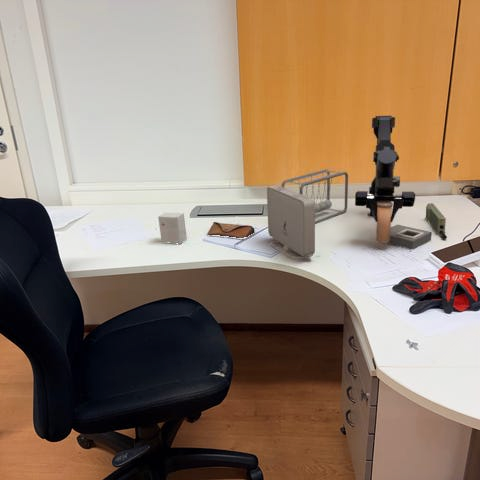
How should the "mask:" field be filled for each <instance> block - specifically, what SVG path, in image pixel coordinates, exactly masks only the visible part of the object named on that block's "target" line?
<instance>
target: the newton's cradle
mask: <svg viewBox="0 0 480 480" xmlns="http://www.w3.org/2000/svg"><path fill="white" fill-rule="evenodd" d="M324 174H326V175H324ZM323 175H324V176H323ZM343 175H344V178H345V180H344V207H343V210H338V209H335V208H332V205H333V202H332V201H331V200H330V197H331V196H330V193H331V185H332V183H331V182H332V180H333V178H336V177H341V176H343ZM318 176H321V177H318ZM313 177H316V178H313ZM309 178H310V179H309ZM303 179H304V180H303ZM308 179H309V180H308ZM296 181H298V182H296ZM300 181H302V182H300ZM321 182H324V183H323V185H324V189H323V191H324V192H323V194H322V197H324V194H326V196H325V198H326V200H324V198H322V199H321V197H318V196H319V195H317V196H316V199H318V198H319V199H320V202H318V201H316V199H315V198H313V196H315V194H314V192H315V191H314V190H312V191H311V194H312V196H311V197H310V198H312V199H313V200H314V202H315V214H317V213H320V212H323V211H325V209H326V210H331V211H335V213H332V214H329V215H327V216H325V217H322V218H319V219H315V225H316V224H319V223H321V222H324V221H327V220H330V219H332V218H334V217H338V216H339V215H342V214H345V213H346V212H347V210H348V201H349V200H348V193H349V174H348V172H347V171H342V172H341V171H336V170H335V171H334V170H329V169H323V170H318V171H314V172H311V173H306V174H303V175H299V176H295V177H293V178H287V179H285V180H283V181H282V183H281V185H280V186H281V187H284V188H285V185H286V184H288V183H290V184H297V185H298V186H299V187H298V188H299V189H298V190H299V194H301V195H304V193H303V189H304V187H305V189H306V192H305V193H306V197H309V196H308V186H309V185H311V186H312V187H311V188H312V189H314V188H315V187H314V186H315V184H316V183H317V184H318V187H320V186H321V184H320V183H321ZM326 183H327V184H326ZM326 187H327V188H326ZM317 193H318V194H321V192H320V189H318V190H317ZM317 202H318V203H317ZM336 211H337V212H336Z"/></svg>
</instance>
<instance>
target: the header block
mask: <svg viewBox="0 0 480 480" xmlns="http://www.w3.org/2000/svg"><path fill="white" fill-rule="evenodd" d="M432 235H433V233H432V231H428V230H425V229H419V228H415V227H411V226H405V225H401V224H395V225H393V226H391V228H390V241H389V242H388V243H387V244H390V245H393V246H397V247H400V246H401V247H400V248H404V247H405V249H408V250H412V249H413V250H414V249H416V248H419V247H420V246H423V245H425V244H427V243H429V242H430V241H432ZM418 246H419V247H418Z"/></svg>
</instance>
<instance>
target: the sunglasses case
mask: <svg viewBox="0 0 480 480" xmlns="http://www.w3.org/2000/svg"><path fill="white" fill-rule="evenodd" d="M255 232H256V231H255V228H254V227H253V226H252V225H248V224H247V225H246V224H244V225H240V224H235V223H223V222H222V223H221V222H218V221H214V222H213V223H212V225H211V226H210V228H209V229H208V231H207V234H206V235H220V236H229V237H236V238H244V237H248V236H249V235H251V234H253V233H254V234H255ZM254 234H253V235H254ZM251 236H252V235H251Z"/></svg>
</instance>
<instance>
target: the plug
mask: <svg viewBox="0 0 480 480" xmlns="http://www.w3.org/2000/svg"><path fill="white" fill-rule="evenodd" d="M393 203H394V202H390V201H379V202H377V206H378V208H377V222H376V229H375V232H376V233H375V241H376V242H377V243H380V244H388V242H389V241H390V228H391V227H392V226H391V225H392V222H391V215H392V209H393Z"/></svg>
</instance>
